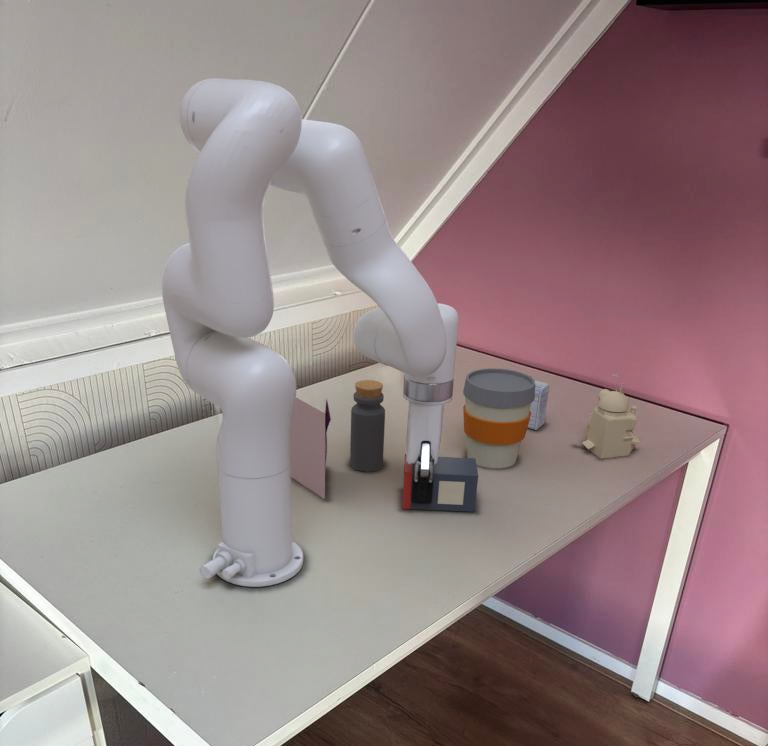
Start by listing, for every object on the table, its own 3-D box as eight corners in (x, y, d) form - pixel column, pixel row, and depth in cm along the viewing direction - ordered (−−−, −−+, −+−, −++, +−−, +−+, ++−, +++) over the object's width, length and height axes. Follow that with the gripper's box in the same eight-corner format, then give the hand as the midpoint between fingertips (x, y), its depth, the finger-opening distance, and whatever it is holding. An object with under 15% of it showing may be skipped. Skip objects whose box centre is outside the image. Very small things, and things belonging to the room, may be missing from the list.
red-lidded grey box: (471, 493, 134) (475, 457, 131) (474, 512, 128) (478, 475, 125) (403, 489, 134) (405, 453, 131) (402, 509, 128) (404, 471, 125)
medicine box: (544, 424, 162) (550, 383, 158) (536, 431, 159) (541, 389, 155) (509, 415, 166) (513, 375, 162) (499, 421, 163) (504, 381, 158)
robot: (617, 437, 158) (631, 363, 151) (641, 454, 151) (657, 378, 144) (570, 442, 155) (583, 367, 148) (593, 459, 148) (607, 382, 141)
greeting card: (330, 499, 131) (330, 413, 123) (284, 499, 130) (282, 413, 123) (329, 468, 141) (330, 387, 133) (287, 468, 140) (285, 386, 133)
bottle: (379, 473, 140) (382, 392, 132) (346, 469, 141) (348, 388, 133) (385, 459, 145) (389, 380, 138) (354, 456, 146) (355, 377, 138)
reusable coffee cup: (493, 438, 155) (501, 363, 148) (540, 462, 146) (552, 384, 139) (443, 453, 148) (449, 375, 141) (489, 479, 140) (499, 397, 132)
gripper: (403, 367, 130) (398, 468, 138) (403, 407, 114) (397, 517, 123) (450, 370, 130) (442, 470, 138) (455, 409, 114) (446, 519, 123)
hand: (421, 491), depth 131 cm, fingers closed on red-lidded grey box, 6 cm apart
